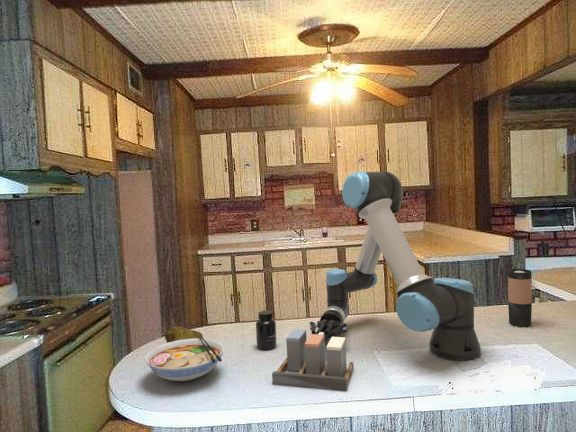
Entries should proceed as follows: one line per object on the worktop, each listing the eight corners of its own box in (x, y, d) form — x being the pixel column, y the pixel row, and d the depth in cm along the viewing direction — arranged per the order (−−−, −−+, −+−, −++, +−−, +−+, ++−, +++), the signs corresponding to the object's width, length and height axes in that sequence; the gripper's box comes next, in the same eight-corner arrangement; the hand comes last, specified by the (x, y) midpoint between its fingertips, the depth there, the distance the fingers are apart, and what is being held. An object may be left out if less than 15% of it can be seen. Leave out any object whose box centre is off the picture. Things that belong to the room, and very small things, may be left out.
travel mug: (536, 327, 154) (535, 272, 153) (514, 328, 154) (514, 273, 153) (524, 320, 162) (524, 268, 161) (504, 321, 162) (503, 269, 161)
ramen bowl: (143, 368, 134) (141, 342, 134) (215, 354, 143) (214, 330, 142) (149, 404, 111) (147, 373, 111) (235, 385, 120) (233, 356, 119)
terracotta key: (312, 365, 130) (311, 334, 129) (325, 366, 129) (324, 334, 128) (306, 377, 122) (304, 343, 121) (319, 378, 121) (318, 344, 120)
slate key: (295, 359, 135) (293, 328, 134) (307, 360, 134) (306, 329, 133) (287, 370, 127) (286, 337, 127) (300, 371, 126) (299, 338, 126)
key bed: (287, 363, 133) (286, 354, 133) (353, 368, 127) (353, 358, 127) (272, 384, 119) (271, 373, 119) (346, 390, 113) (345, 379, 113)
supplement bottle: (274, 351, 144) (272, 315, 143) (254, 350, 145) (252, 315, 144) (278, 343, 150) (277, 309, 149) (259, 342, 152) (258, 309, 151)
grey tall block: (333, 369, 127) (331, 336, 126) (346, 370, 126) (345, 337, 125) (327, 381, 119) (326, 346, 118) (342, 382, 118) (340, 347, 117)
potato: (205, 349, 148) (203, 326, 147) (166, 355, 144) (164, 332, 143) (202, 341, 156) (201, 320, 155) (165, 347, 152) (164, 324, 151)
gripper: (351, 331, 150) (339, 357, 127) (314, 329, 154) (296, 354, 131) (350, 310, 149) (338, 333, 127) (314, 308, 153) (295, 330, 131)
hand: (317, 343), depth 129 cm, fingers closed
